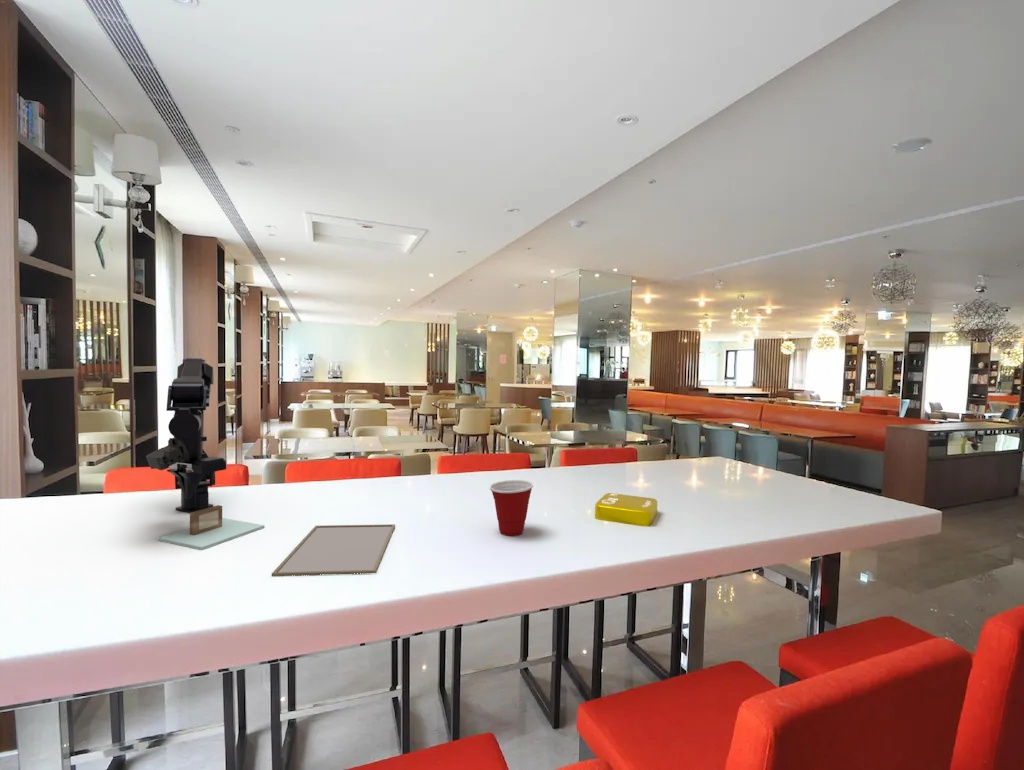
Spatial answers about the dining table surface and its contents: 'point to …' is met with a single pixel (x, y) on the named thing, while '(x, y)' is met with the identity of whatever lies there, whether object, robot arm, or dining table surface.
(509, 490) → the plastic cup
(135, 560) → the dining table surface
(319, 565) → the picture frame
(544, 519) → the dining table surface
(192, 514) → the brown wooden block
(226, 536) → the mat
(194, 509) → the robot arm
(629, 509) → the element tile
